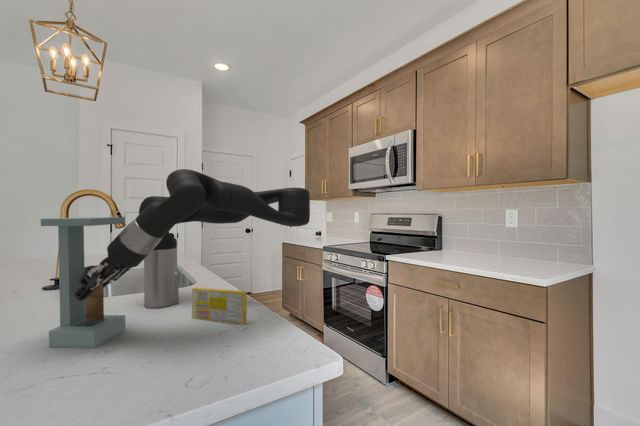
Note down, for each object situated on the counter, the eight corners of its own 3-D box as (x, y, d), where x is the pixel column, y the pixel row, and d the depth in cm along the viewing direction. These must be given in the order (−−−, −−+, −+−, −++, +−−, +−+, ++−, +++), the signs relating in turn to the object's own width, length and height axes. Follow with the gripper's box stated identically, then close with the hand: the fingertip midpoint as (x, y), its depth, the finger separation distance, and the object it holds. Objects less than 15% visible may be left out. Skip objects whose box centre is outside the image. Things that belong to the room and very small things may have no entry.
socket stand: (126, 328, 77) (124, 217, 77) (92, 348, 66) (90, 218, 66) (84, 328, 78) (82, 217, 77) (43, 348, 67) (40, 218, 66)
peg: (104, 315, 74) (103, 264, 74) (103, 320, 71) (102, 267, 71) (86, 318, 72) (85, 266, 72) (84, 323, 69) (83, 268, 69)
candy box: (247, 322, 81) (247, 290, 81) (243, 325, 79) (242, 293, 79) (196, 316, 86) (196, 286, 86) (191, 318, 84) (190, 288, 84)
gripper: (127, 258, 64) (71, 317, 64) (164, 249, 78) (117, 298, 79) (101, 232, 64) (45, 292, 65) (143, 228, 78) (96, 277, 79)
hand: (85, 295), depth 72 cm, fingers closed on peg, 3 cm apart
